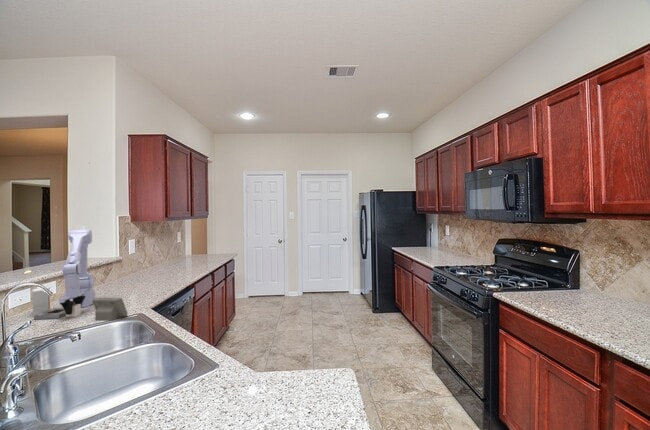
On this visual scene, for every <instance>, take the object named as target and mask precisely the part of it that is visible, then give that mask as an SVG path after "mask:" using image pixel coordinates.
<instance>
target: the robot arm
mask: <svg viewBox="0 0 650 430" xmlns="http://www.w3.org/2000/svg"><path fill="white" fill-rule="evenodd" d="M67 237H68V240H69V242H70V244H71V249H70V252H69V253H67V257H66V261H65V264H63V266H62V275H63V279H64V287H65V288H64V289H65V292H64V293H65V295H64V296H62V297H61V298H59V299H58V300H59V303H58V304H59V305H61V308H64V310H65V312H66V315H70V314H72V306H73V303H75V304H81V308H85V307H86V308H87V307H88V306H90V305H94V304H93V302H92V299H93V298H95V297H96V290H95V289H94V287H95V279H94V275H93V274H91V273H89V272H88V247H89V245H90V244H92V243H93V233H92V230H91V229H89V228H87V229H70V230H69V231H68V233H67Z"/></svg>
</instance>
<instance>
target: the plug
mask: <svg viewBox="0 0 650 430" xmlns="http://www.w3.org/2000/svg"><path fill="white" fill-rule="evenodd" d="M81 314H82V307H81V304H75V303H73V306H72V314H70V315H66V316H65V318H75V317H77V316H80V315H81Z"/></svg>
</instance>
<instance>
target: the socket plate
mask: <svg viewBox="0 0 650 430" xmlns="http://www.w3.org/2000/svg"><path fill="white" fill-rule="evenodd" d="M65 317H66V312H65V310H64V308H63V307H54V308H50V310H48V311H46V312H43V313H40V314H38V315H35V316H33V320H34V321H38V320H39V321H40V320H58V319H59V320H60V319H61V318H65Z"/></svg>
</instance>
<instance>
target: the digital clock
mask: <svg viewBox="0 0 650 430" xmlns="http://www.w3.org/2000/svg"><path fill="white" fill-rule="evenodd" d="M92 302H93V304H92V305H93V306H94V309H95V311H94V312H95V313H94V316H95V321H113V320H112V319H114V320H115V318H116V319H118V318H120V317H121V318H123V317H127V316H128V314H129V313H128V311H127V307H126V305H125V302H124V300H123V297H118V296H117V297H116V296H111V297H108V296H107V297H106V296H100V297H99V296H97V297H96V296H95V298H93V299H92ZM117 317H118V318H117Z"/></svg>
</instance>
